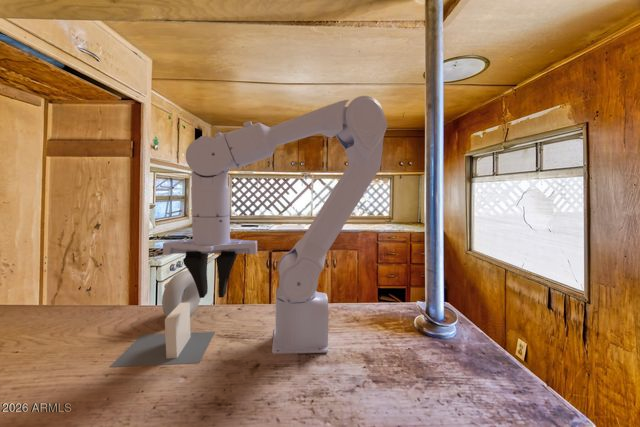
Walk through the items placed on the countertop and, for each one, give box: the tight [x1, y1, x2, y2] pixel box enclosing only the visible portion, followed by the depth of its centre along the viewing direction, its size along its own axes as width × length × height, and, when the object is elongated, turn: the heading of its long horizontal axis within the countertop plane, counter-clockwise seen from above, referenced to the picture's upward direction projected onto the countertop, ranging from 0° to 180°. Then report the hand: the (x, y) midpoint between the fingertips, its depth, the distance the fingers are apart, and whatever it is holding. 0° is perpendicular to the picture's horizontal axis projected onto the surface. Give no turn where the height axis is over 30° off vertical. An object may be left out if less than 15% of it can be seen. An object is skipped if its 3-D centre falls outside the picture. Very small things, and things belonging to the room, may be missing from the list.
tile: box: [164, 303, 192, 358], centre depth 46 cm, size 2×6×6 cm, turn 6°
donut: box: [161, 270, 202, 318], centre depth 56 cm, size 10×4×10 cm, turn 168°
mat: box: [109, 331, 216, 368], centre depth 46 cm, size 13×9×1 cm
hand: (212, 295), depth 46 cm, fingers open, 2 cm apart
